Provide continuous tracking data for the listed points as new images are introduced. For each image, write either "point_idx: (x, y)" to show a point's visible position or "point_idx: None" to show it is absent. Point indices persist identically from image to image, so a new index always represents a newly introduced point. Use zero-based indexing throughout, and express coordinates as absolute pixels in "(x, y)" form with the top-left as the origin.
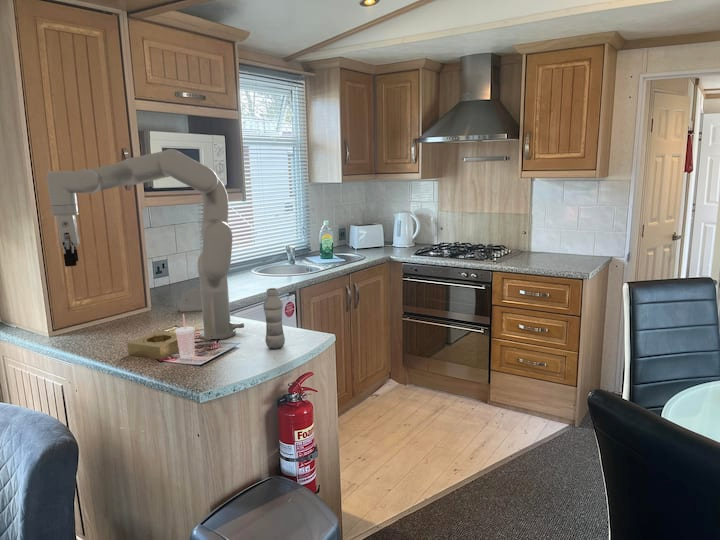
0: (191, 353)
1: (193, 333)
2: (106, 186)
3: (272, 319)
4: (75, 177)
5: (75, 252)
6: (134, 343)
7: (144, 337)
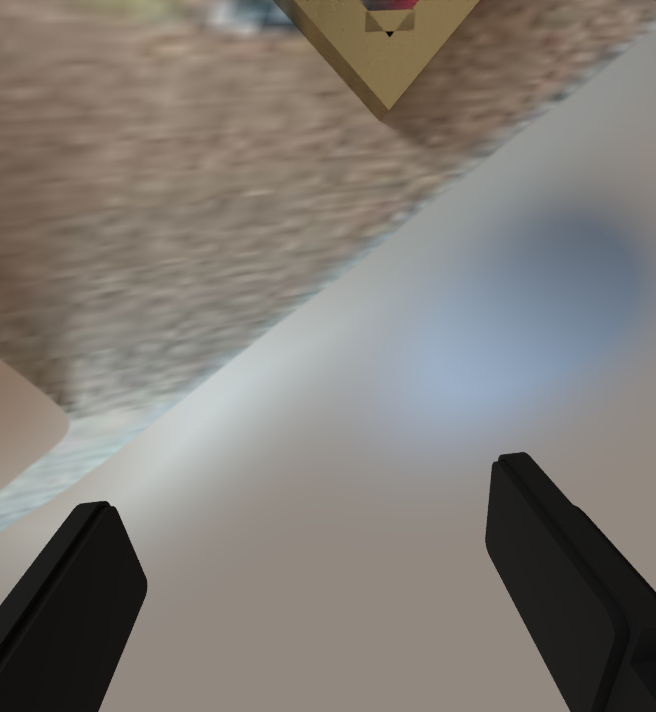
0: None
1: None
2: None
3: None
4: None
5: (33, 650)
6: (411, 74)
7: (338, 25)
